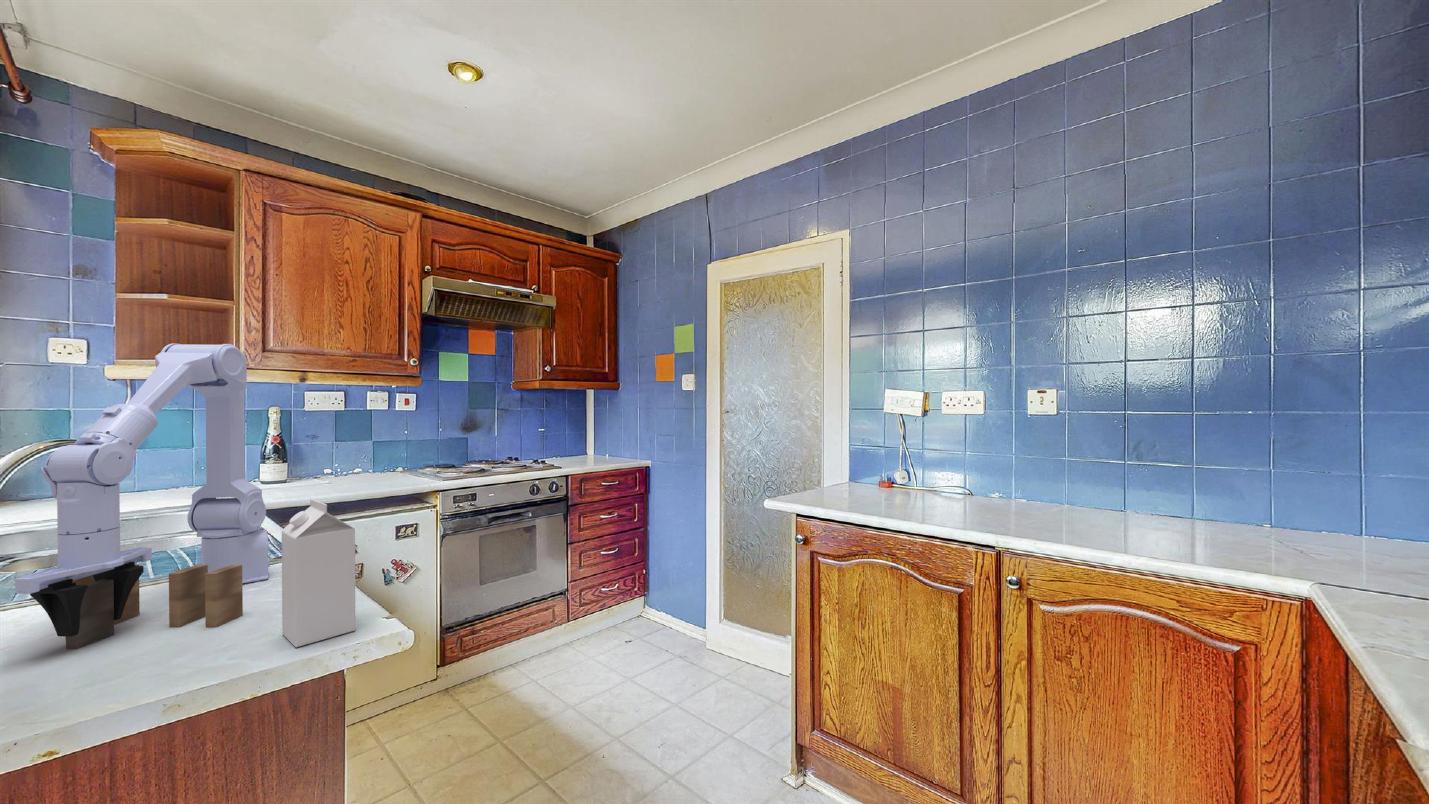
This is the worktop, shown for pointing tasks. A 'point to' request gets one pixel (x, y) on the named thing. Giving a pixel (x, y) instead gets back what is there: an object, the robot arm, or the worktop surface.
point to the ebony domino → (95, 615)
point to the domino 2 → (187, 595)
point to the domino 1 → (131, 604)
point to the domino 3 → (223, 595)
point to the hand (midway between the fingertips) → (90, 627)
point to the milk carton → (317, 576)
